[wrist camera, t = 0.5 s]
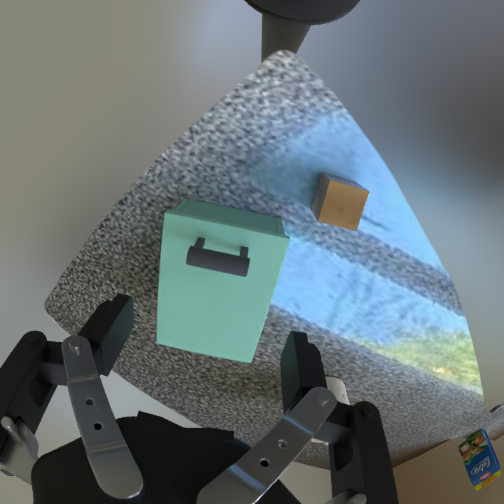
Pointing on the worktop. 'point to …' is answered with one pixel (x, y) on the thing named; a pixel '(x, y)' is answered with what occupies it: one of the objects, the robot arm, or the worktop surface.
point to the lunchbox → (231, 215)
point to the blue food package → (480, 459)
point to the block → (339, 201)
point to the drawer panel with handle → (216, 285)
